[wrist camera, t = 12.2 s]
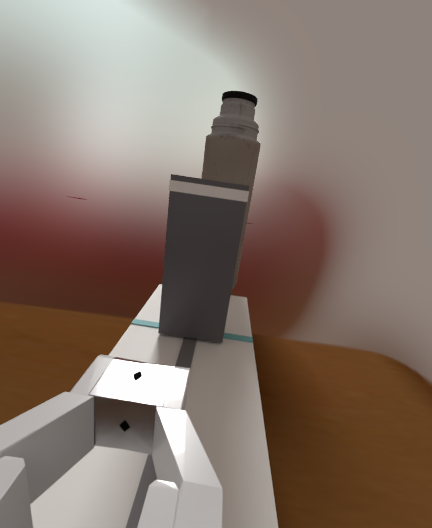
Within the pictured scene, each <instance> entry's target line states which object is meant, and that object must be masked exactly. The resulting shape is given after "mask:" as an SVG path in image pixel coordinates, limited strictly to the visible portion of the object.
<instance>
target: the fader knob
mask: <svg viewBox="0 0 432 528" xmlns="http://www.w3.org/2000/svg"><path fill="white" fill-rule="evenodd" d="M169 191H170V195H169V207H168V219H167V232H166V244H165V257H164V269H163V281H162V293H161V305H160V318H159V330H158V333H161V334H167V335H174V336H180V337H187V338H193V339H200V340H206V341H213V342H219V343H222V342H223V336H224V331H225V325H226V319H227V313H228V307H229V301H230V296H231V290H232V284H233V278H234V272H235V267H236V261H237V255H238V249H239V243H240V238H241V232H242V226H243V220H244V214H245V208H246V203H247V201H248V195H249V186H247V185H240V184H233V183H226V182H220V181H213V180H206V179H199V178H192V177H185V176H179V175H172V174H171V180H170V185H169Z"/></svg>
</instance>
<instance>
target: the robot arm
mask: <svg viewBox="0 0 432 528" xmlns="http://www.w3.org/2000/svg"><path fill="white" fill-rule="evenodd" d="M189 377H190V368H184V367H177V366H168V365H161V364H154V363H148V362H142V361H136V360H131V359H125V358H120V357H112V356H107V355H99V356H98V357H97V358H96V359H95V360H94V361H93V363H92V364H91V365H90V367H89V368H88V369H87V371H86V372H85V373H84V374H83V376H82V377H81V378H80V380H79V381H78V382H77V384H76V385H75V386H74V387H73V389H72V390H71V391H70V392H63V393H61V394H59V395H58V396H56V397H54V398H52V399H50V400H48V401H46V402H44V403H42V404H40V405H38V406H37V407H35V408H33V409H31V410H29V411H27V412H25V413H23V414H21V415H19V416H17V417H16V418H14V419H12V420H10V421H8V422H6V423H4V424H2V425H0V528H33V522H32V514H31V506H30V504H32V503H33V502H34V501H35V500H36V499H37V498H38V497H39V496H41V495H42V494H43V493H44V492H45V491H46V490H47V489H48V488H50V487H51V486H52V485H53V484H54V483H55V482H56V481H57V480H59V479H60V478H61V477H62V476H63V475H64V474H65V473H66V472H68V471H69V470H70V469H71V468H72V467H73V466H74V465H75V464H77V463H78V462H79V461H80V460H81V459H82V458H83V457H84V456H86V455H87V454H88V453H89V452H90V451H91V450H92V449H93V448H94V446H101V447H109V448H117V449H124V450H130V451H135V452H140V453H145V454H151V455H152V459H153V463H154V467H155V472H156V476H157V480H155V481H154V482H153V483H151V484H150V485H149V488H148V491H147V495H146V498H145V502H144V505H143V509H142V513H141V516H140V520H139V523H138V527H137V528H222V500H223V488H222V486H221V484H220V482H219V480H218V478H217V475H216V473H215V471H214V469H213V467H212V465H211V463H210V460H209V458H208V456H207V454H206V452H205V450H204V448H203V445H202V443H201V441H200V439H199V437H198V435H197V433H196V430H195V428H194V426H193V424H192V422H191V420H190V418H189V416H188V413H187V411H185V405H186V398H187V391H188V384H189Z"/></svg>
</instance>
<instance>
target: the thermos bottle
mask: <svg viewBox="0 0 432 528" xmlns="http://www.w3.org/2000/svg"><path fill="white" fill-rule="evenodd" d="M222 101H223V104H222V105H221V112H220V116H218V117H216V118H215V119H214V120H213V126H212V127H211V128H212V133H211V134H210V135H208V136H206V143H205V153H204V163H203V172H202V178H201V179H206V180H213V181H220V182H226V183H233V184H240V185H247V186H249V195H248V201H247V203H246V208H245V214H244V220H243V226H242V232H241V238H240V243H239V249H238V255H237V261H236V267H235V272H234V278H233V284H232V289H233V288H234V287H235V285H236V281H237V275H238V270H239V264H240V258H241V253H242V247H243V241H244V236H245V230H246V224H247V219H248V213H249V207H250V202H251V196H252V190H253V184H254V179H255V173H256V168H257V162H258V156H259V151H260V143H259V142H258V141H256V140H257V134H258V133H259V131H258V128H259V127H258V124H257V123H256V122H255V121H254V115H255V109H254V108H255V106H256V105H257V98H256V97H255V96H253V95H252V94H249V93H246V92H241V91H228V92H225V93H223V96H222Z"/></svg>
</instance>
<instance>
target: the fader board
mask: <svg viewBox="0 0 432 528" xmlns="http://www.w3.org/2000/svg"><path fill="white" fill-rule="evenodd" d="M161 293H162V285H161V284H159V286H158V287H157V289H156V290H155V292H154V293H153V294H152V296H151V297H150V298H149V300H148V301H147V303H146V304H145V305H144V307H143V308H142V310H141V311H140V312H139V314H138V315H137V317H136V318H135V319H134V320H133V321H132V323H131V325H130V326H129V328H128V329H127V331H126V332H125V333H124V335H123V336H122V338H121V339H120V340H119V342H118V343H117V345H116V346H115V347H114V349H113V350H112V352H111V353H110V354H109V356H112V357H120V358H125V359H131V360H136V361H142V362H148V363H154V364H161V365H168V366H177V367H184V368H190V377H189V384H188V391H187V398H186V405H185V411H187V413H188V416H189V418H190V420H191V422H192V424H193V426H194V428H195V430H196V433H197V435H198V437H199V439H200V441H201V443H202V445H203V448H204V450H205V452H206V454H207V456H208V458H209V460H210V463H211V465H212V467H213V469H214V471H215V473H216V475H217V478H218V480H219V482H220V484H221V486H222V488H223V500H222V528H278V522H277V515H276V507H275V500H274V493H273V485H272V478H271V471H270V464H269V456H268V449H267V442H266V435H265V427H264V420H263V413H262V406H261V398H260V391H259V384H258V376H257V369H256V362H255V355H254V347H253V337H252V333H251V326H250V318H249V311H248V304H247V298H246V297H239V296H233V295H231V296H230V301H229V307H228V313H227V319H226V325H225V331H224V336H223V342H222V343H219V342H213V341H206V340H200V339H193V338H187V337H180V336H174V335H167V334H161V333H158V330H159V318H160V305H161ZM155 480H157V476H156V472H155V467H154V463H153V459H152V455H151V454H145V453H140V452H135V451H130V450H124V449H117V448H109V447H101V446H94V448H93V449H92V450H91V451H90V452H89V453H88V454H87V455H86V456H84V457H83V458H82V459H81V460H80V461H79V462H78V463H77V464H75V465H74V466H73V467H72V468H71V469H70V470H69V471H68V472H66V473H65V474H64V475H63V476H62V477H61V478H60V479H59V480H57V481H56V482H55V483H54V484H53V485H52V486H51V487H50V488H48V489H47V490H46V491H45V492H44V493H43V494H42V495H41V496H39V497H38V498H37V499H36V500H35V501H34V502H33V503H32V504H30V506H31V514H32V522H33V528H137V527H138V523H139V520H140V516H141V513H142V509H143V505H144V502H145V498H146V495H147V491H148V488H149V485H150V484H151V483H153V482H154V481H155Z"/></svg>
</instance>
